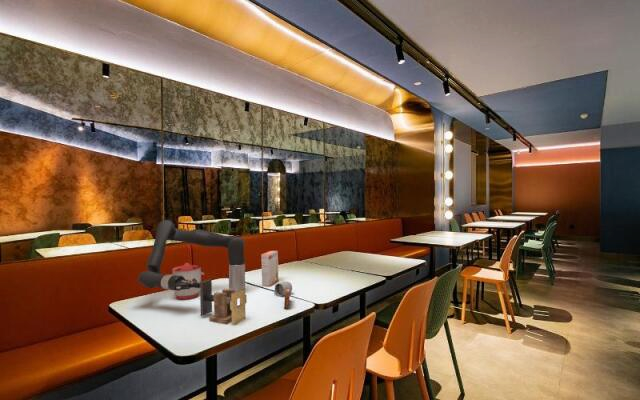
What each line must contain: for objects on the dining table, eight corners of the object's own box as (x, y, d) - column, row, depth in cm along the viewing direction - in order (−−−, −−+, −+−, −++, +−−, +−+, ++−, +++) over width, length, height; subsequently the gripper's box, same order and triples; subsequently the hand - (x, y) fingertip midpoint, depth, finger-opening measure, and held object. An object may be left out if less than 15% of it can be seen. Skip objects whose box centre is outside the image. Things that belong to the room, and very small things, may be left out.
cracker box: (270, 280, 216) (270, 250, 216) (278, 281, 215) (278, 250, 214) (261, 286, 203) (260, 254, 203) (269, 286, 201) (269, 254, 201)
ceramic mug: (293, 294, 186) (293, 281, 186) (283, 297, 179) (283, 284, 179) (280, 291, 192) (280, 278, 192) (270, 294, 185) (270, 281, 185)
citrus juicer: (208, 296, 183) (207, 262, 183) (176, 303, 172) (175, 266, 172) (200, 290, 195) (199, 258, 195) (169, 296, 185) (169, 262, 185)
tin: (284, 300, 174) (284, 285, 174) (290, 300, 174) (290, 285, 174) (283, 310, 159) (283, 293, 159) (290, 310, 159) (289, 293, 159)
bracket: (209, 321, 146) (208, 293, 146) (223, 313, 155) (223, 287, 155) (226, 324, 142) (226, 295, 142) (240, 316, 151) (239, 289, 151)
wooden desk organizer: (200, 315, 151) (200, 282, 151) (209, 311, 156) (209, 279, 156) (226, 320, 145) (226, 285, 145) (235, 315, 150) (234, 282, 150)
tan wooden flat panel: (230, 325, 141) (229, 294, 141) (244, 317, 151) (243, 288, 150) (233, 325, 141) (232, 294, 141) (246, 317, 150) (246, 288, 150)
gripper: (182, 285, 168) (209, 289, 163) (162, 293, 156) (191, 297, 150) (182, 271, 168) (209, 274, 162) (162, 278, 156) (190, 282, 150)
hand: (200, 285), depth 156 cm, fingers closed
